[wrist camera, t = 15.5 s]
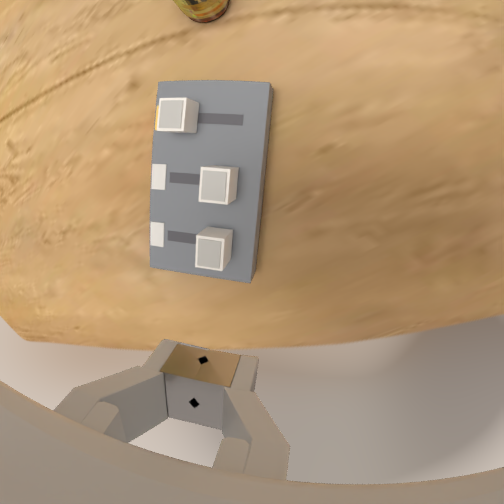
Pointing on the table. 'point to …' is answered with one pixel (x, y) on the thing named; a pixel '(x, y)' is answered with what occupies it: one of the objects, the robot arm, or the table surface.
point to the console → (205, 154)
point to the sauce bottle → (202, 9)
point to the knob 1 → (177, 115)
